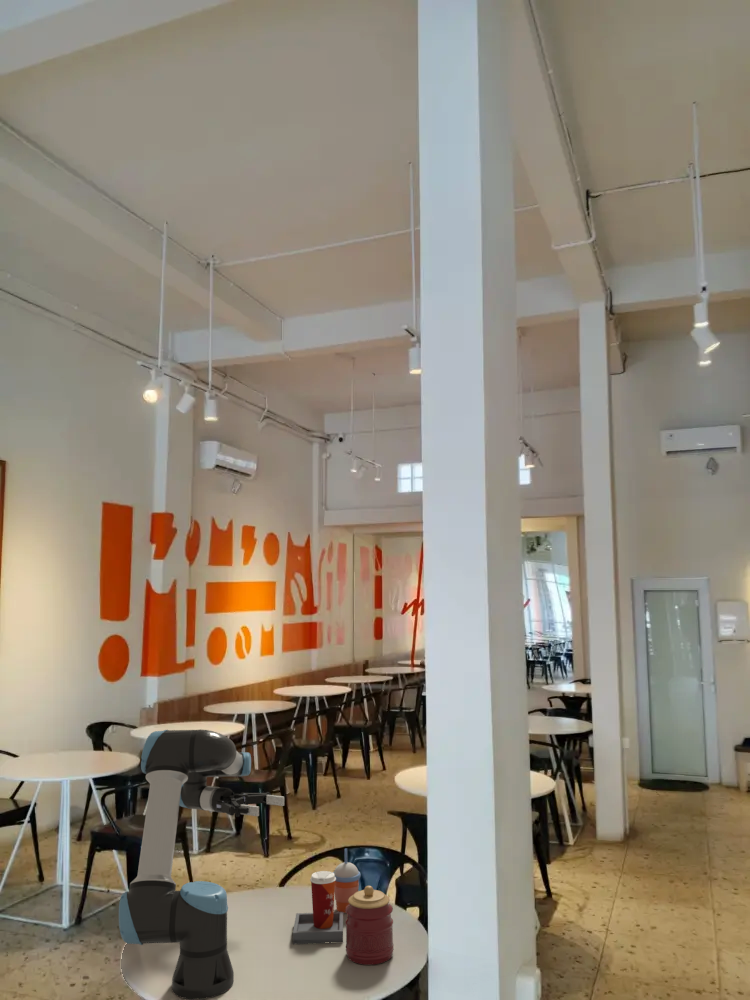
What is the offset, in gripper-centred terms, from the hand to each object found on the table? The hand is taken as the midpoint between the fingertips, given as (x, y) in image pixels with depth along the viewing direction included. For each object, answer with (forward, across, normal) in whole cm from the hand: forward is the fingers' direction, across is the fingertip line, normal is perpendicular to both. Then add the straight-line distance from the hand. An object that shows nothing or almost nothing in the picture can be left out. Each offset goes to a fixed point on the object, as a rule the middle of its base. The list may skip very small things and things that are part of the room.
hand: (271, 806), depth 241 cm
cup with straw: (+19, -14, -32) cm, 40 cm away
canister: (+40, +11, -32) cm, 53 cm away
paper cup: (+20, +2, -31) cm, 37 cm away
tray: (+20, +5, -32) cm, 38 cm away
